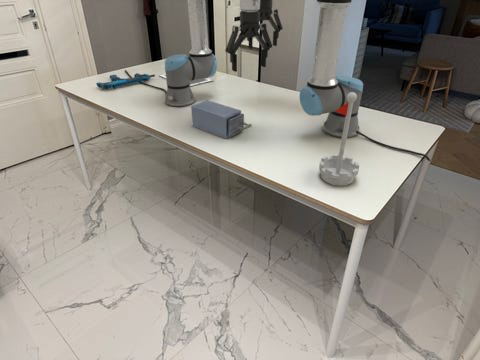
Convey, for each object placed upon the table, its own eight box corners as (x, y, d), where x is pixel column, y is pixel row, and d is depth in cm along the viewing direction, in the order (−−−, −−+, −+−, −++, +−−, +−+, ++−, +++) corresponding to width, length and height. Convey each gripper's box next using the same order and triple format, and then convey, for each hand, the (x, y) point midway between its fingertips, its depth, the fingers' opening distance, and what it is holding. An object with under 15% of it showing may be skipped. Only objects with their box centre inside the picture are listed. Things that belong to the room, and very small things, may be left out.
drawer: (254, 134, 145) (254, 117, 141) (240, 141, 139) (240, 124, 135) (212, 119, 158) (211, 103, 154) (198, 125, 152) (197, 109, 148)
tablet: (159, 75, 221) (159, 75, 220) (185, 70, 232) (185, 69, 231) (186, 87, 200) (186, 86, 200) (213, 80, 211) (213, 80, 211)
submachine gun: (140, 68, 226) (159, 74, 209) (142, 73, 228) (160, 80, 211) (89, 77, 207) (104, 85, 190) (90, 84, 209) (106, 92, 192)
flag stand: (341, 164, 125) (356, 83, 108) (364, 182, 115) (385, 96, 98) (310, 171, 121) (321, 88, 105) (331, 190, 111) (347, 102, 94)
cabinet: (241, 130, 150) (241, 110, 145) (226, 138, 143) (225, 117, 138) (208, 119, 161) (207, 99, 156) (192, 126, 154) (190, 106, 149)
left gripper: (224, 14, 118) (226, 75, 130) (283, 9, 128) (279, 66, 140) (215, 11, 123) (217, 70, 135) (271, 7, 134) (269, 62, 145)
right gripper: (283, -4, 162) (280, 43, 174) (236, -2, 153) (236, 47, 165) (291, -3, 157) (288, 45, 168) (243, 0, 148) (243, 50, 159)
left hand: (249, 68), depth 137 cm, fingers open, 13 cm apart
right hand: (262, 46), depth 166 cm, fingers open, 13 cm apart
